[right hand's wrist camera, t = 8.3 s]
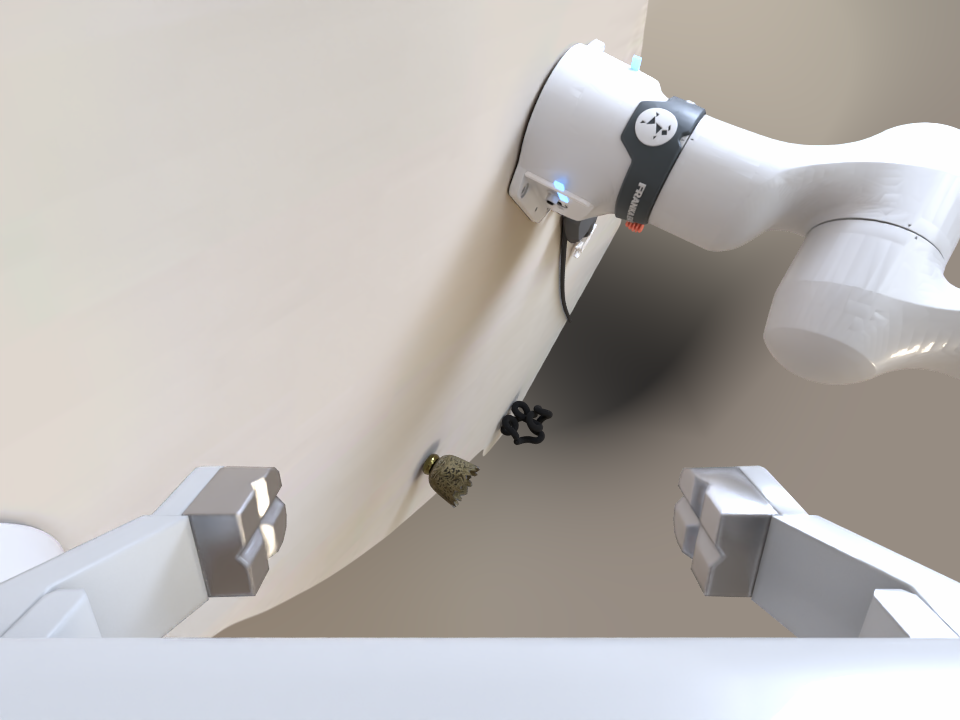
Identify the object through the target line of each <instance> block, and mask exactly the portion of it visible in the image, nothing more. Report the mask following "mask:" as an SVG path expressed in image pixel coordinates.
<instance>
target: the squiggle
mask: <svg viewBox="0 0 960 720" xmlns="http://www.w3.org/2000/svg"><path fill="white" fill-rule="evenodd" d="M518 407H521V408H522V409H523V411H524V414H523V413H521V412H520V411H519V410H518ZM512 412H513V414H514V415H515V416H516V417H514V416H512V415H506V416H504V417H503V419H502V427H501V429H500V430H501V433H502V434H504V435H507V436H509V435H511V436H512V437H513V438H514V444H516V445H519V444H522V443H533V444H538V443H541V442H542V441H543V440H544V438H545V434H544V432H543V431H542V429H543V426H542V423H543V422H544V421H545V420H546V419H549V418H551V417H552V412H551V411H549V410H546V409H542V408H541V406H539V405H536V406H535V407H534V411H530V409H529V407H528V405H527V404H526V403H525V402H522V401H516V402H514V403H513V405H512ZM538 414H539V415H541V416H540V417H539V418H538V419H537V421H536V420H534V419H533V418H536V417H537V415H538ZM520 421H524V422H526V423H527V425H528V427H529V429H530V431H531V432H532V433H534V434H535V435H537V436H538V437H531V436H524V437H520V438H519V434H518V433H517V430H518V426H519V425H518V422H520ZM511 426H512V427H511Z"/></svg>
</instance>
